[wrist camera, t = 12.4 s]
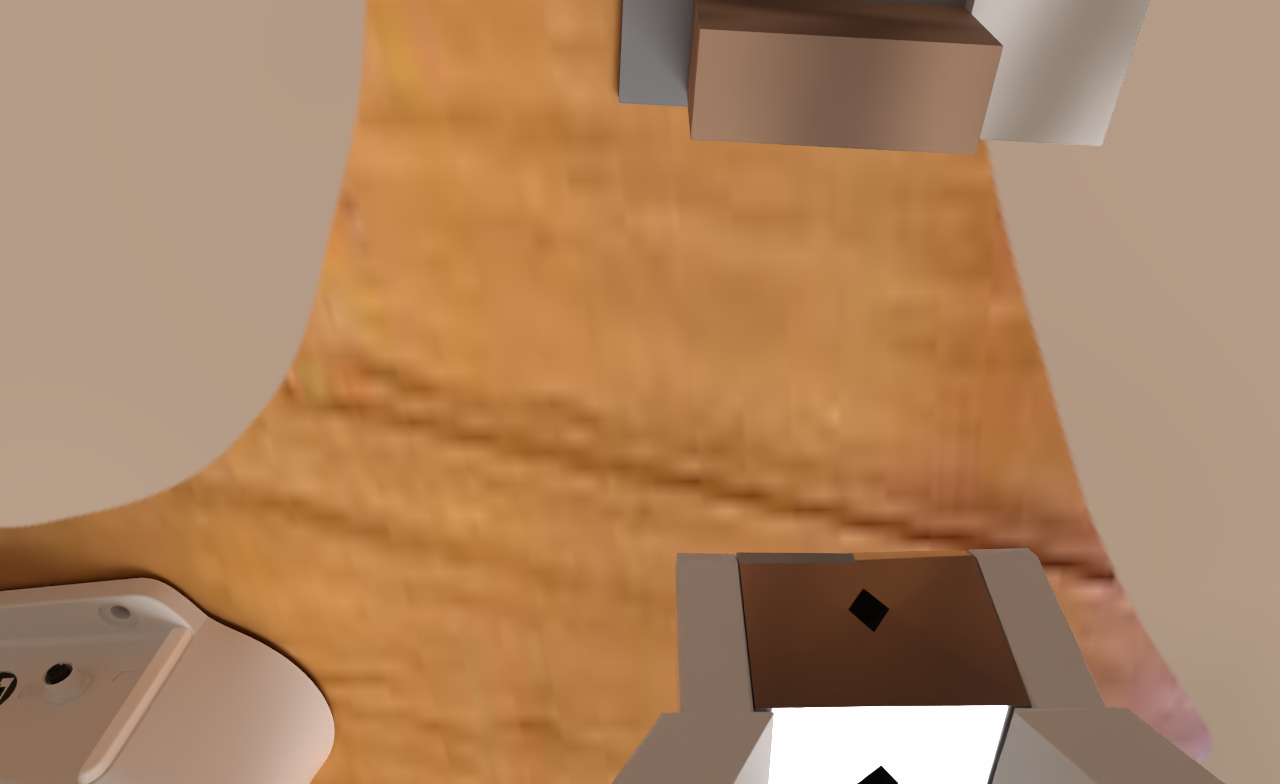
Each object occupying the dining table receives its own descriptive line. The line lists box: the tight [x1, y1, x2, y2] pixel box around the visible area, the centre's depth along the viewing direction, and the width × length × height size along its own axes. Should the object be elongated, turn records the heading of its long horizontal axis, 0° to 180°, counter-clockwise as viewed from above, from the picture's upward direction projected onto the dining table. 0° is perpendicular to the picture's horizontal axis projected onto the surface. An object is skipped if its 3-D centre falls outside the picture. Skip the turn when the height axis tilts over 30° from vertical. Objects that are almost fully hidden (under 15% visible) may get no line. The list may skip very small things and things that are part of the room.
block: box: [687, 0, 1150, 155], centre depth 29 cm, size 13×4×4 cm, turn 87°
